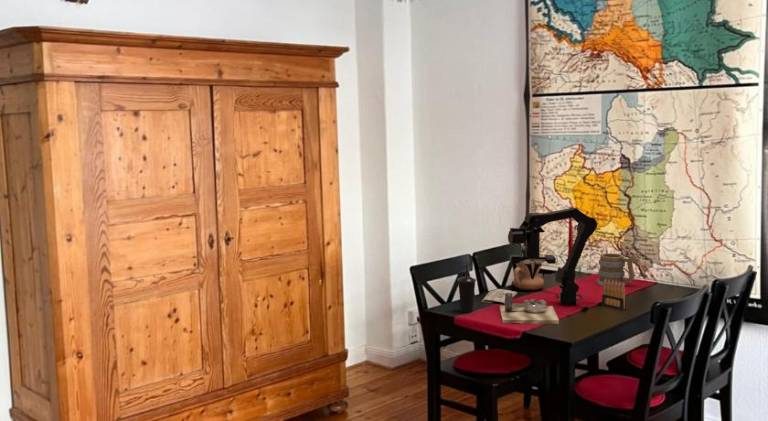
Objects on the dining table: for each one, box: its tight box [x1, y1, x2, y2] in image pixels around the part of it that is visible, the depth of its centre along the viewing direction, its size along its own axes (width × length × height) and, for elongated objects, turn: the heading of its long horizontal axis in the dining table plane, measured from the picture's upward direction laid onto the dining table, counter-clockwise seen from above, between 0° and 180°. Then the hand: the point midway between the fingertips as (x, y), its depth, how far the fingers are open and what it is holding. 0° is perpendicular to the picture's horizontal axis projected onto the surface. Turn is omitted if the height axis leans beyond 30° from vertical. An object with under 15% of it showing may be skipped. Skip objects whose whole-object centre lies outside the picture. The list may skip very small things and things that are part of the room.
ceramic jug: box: [512, 261, 545, 291], centre depth 371 cm, size 18×14×14 cm
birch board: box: [499, 305, 560, 325], centre depth 325 cm, size 22×22×2 cm
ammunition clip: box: [601, 278, 627, 311], centre depth 336 cm, size 11×2×12 cm, turn 40°
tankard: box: [596, 252, 640, 288], centre depth 376 cm, size 20×13×15 cm, turn 43°
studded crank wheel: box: [504, 293, 547, 313], centre depth 327 cm, size 17×9×7 cm, turn 92°
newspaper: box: [481, 288, 518, 305], centre depth 356 cm, size 23×12×2 cm, turn 157°
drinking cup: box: [457, 263, 477, 313], centre depth 333 cm, size 8×8×20 cm
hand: (532, 279), depth 339 cm, fingers closed
